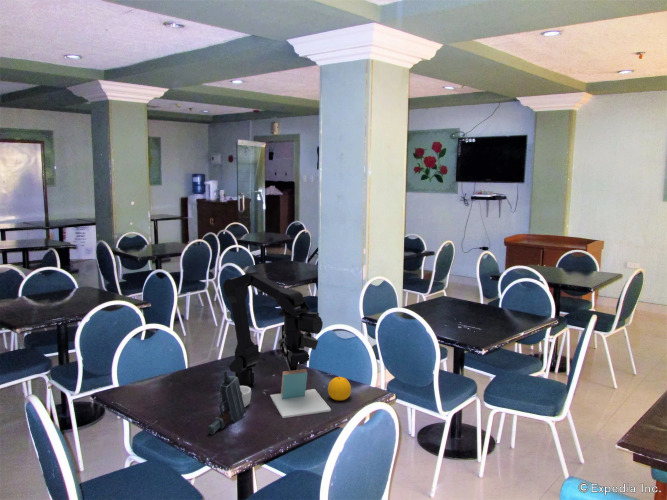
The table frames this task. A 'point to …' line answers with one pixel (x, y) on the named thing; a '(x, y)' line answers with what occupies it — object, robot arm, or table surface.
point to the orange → (339, 388)
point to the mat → (300, 404)
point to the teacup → (246, 394)
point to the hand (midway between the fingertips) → (293, 374)
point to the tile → (293, 383)
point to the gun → (229, 403)
